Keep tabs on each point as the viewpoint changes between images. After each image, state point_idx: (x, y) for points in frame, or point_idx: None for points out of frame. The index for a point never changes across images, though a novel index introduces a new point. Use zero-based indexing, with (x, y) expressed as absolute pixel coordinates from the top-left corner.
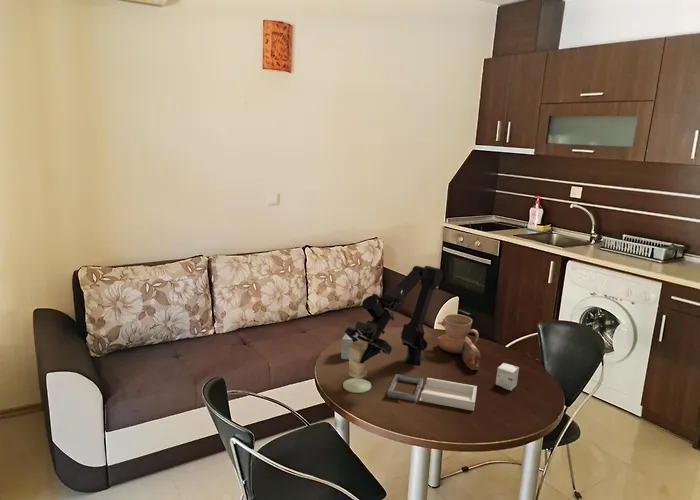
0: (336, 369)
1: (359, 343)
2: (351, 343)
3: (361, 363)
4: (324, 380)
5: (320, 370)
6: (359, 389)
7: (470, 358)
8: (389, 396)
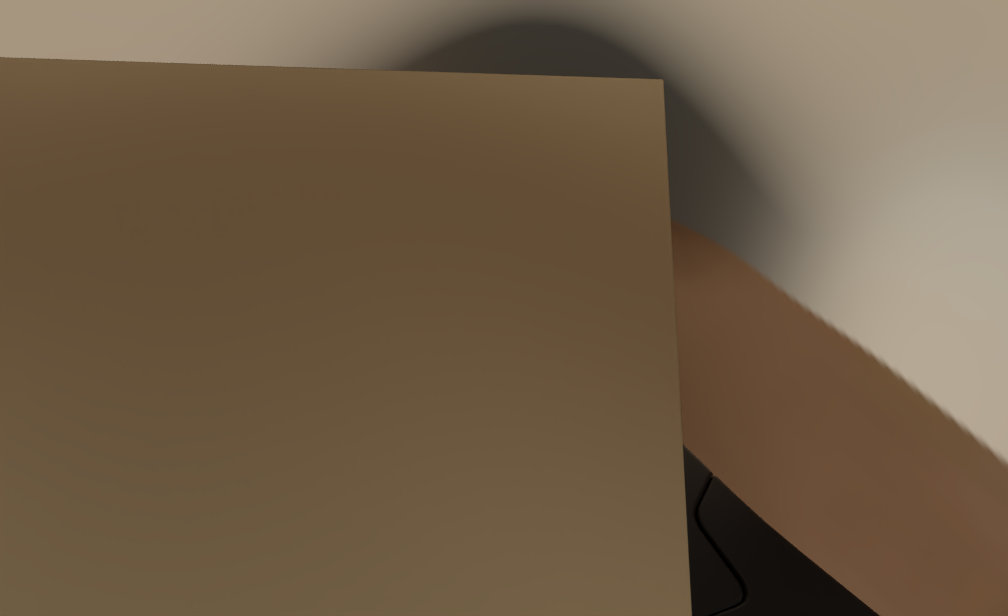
0: (900, 592)
1: (242, 469)
2: (603, 130)
3: None
4: (762, 311)
5: (969, 436)
6: None
7: None
8: None
